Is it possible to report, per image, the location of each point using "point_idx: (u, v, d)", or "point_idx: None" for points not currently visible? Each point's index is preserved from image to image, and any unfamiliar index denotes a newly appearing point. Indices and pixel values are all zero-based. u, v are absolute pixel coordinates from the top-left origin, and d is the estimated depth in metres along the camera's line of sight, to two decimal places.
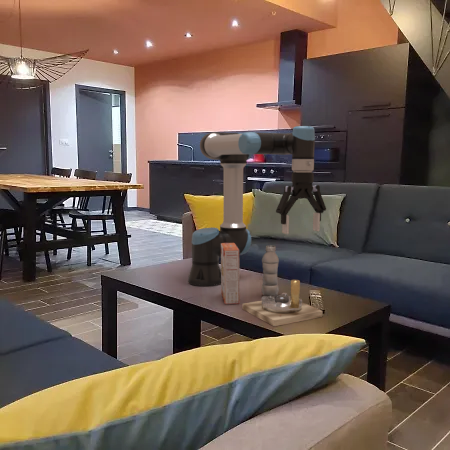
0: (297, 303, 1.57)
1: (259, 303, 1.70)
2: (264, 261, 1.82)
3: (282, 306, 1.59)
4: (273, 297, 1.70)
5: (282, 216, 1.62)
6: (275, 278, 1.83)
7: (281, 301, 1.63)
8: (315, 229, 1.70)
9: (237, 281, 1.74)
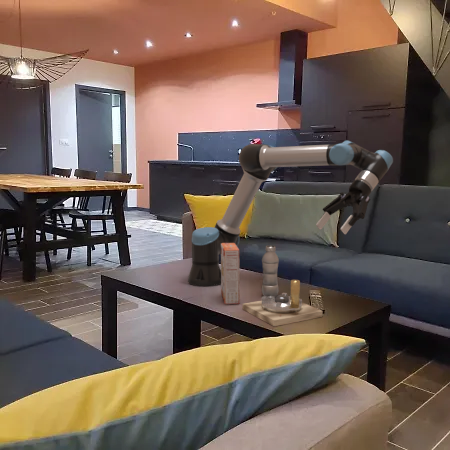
0: (297, 303, 1.57)
1: (259, 303, 1.70)
2: (264, 261, 1.82)
3: (282, 306, 1.59)
4: (273, 297, 1.70)
5: (356, 219, 1.63)
6: (275, 278, 1.83)
7: (281, 301, 1.63)
8: (319, 226, 1.75)
9: (237, 281, 1.74)
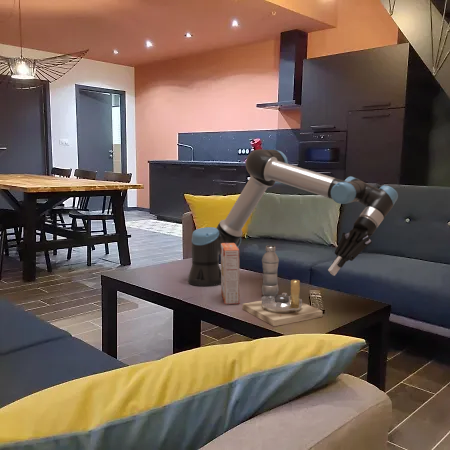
0: (297, 303, 1.57)
1: (259, 303, 1.70)
2: (264, 261, 1.82)
3: (282, 306, 1.59)
4: (273, 297, 1.70)
5: (345, 261, 1.65)
6: (275, 278, 1.83)
7: (281, 301, 1.63)
8: None
9: (237, 281, 1.74)
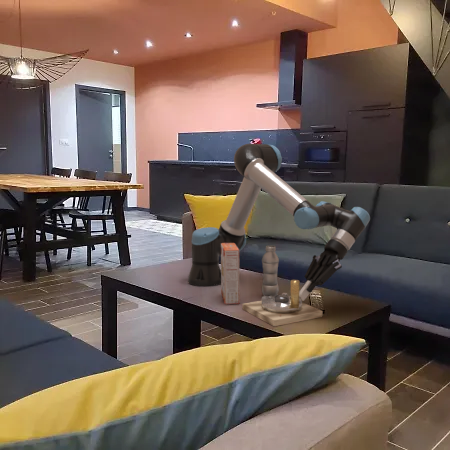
0: (297, 303, 1.57)
1: (259, 303, 1.70)
2: (264, 261, 1.82)
3: (282, 306, 1.59)
4: (273, 297, 1.70)
5: (314, 285, 1.60)
6: (275, 278, 1.83)
7: (281, 301, 1.63)
8: None
9: (237, 281, 1.74)
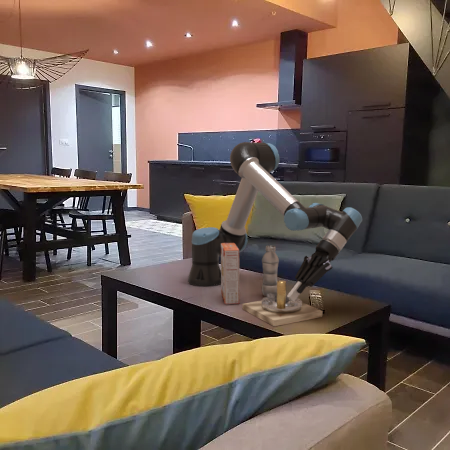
0: (280, 304, 1.56)
1: (259, 303, 1.70)
2: (264, 261, 1.82)
3: (271, 305, 1.61)
4: None
5: (304, 286, 1.58)
6: (275, 278, 1.83)
7: (277, 300, 1.64)
8: None
9: (237, 281, 1.74)
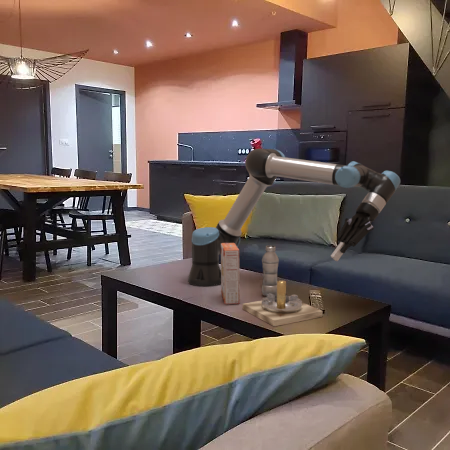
0: (280, 304, 1.56)
1: (259, 303, 1.70)
2: (264, 261, 1.82)
3: (271, 305, 1.61)
4: None
5: (347, 246, 1.67)
6: (275, 278, 1.83)
7: (277, 300, 1.64)
8: None
9: (237, 281, 1.74)
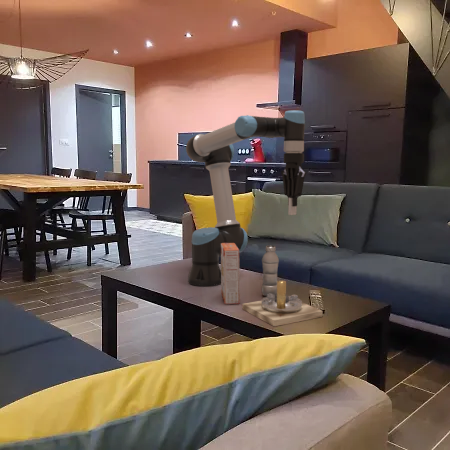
0: (280, 304, 1.56)
1: (259, 303, 1.70)
2: (264, 261, 1.82)
3: (271, 305, 1.61)
4: None
5: (296, 199, 1.79)
6: (275, 278, 1.83)
7: (277, 300, 1.64)
8: None
9: (237, 281, 1.74)
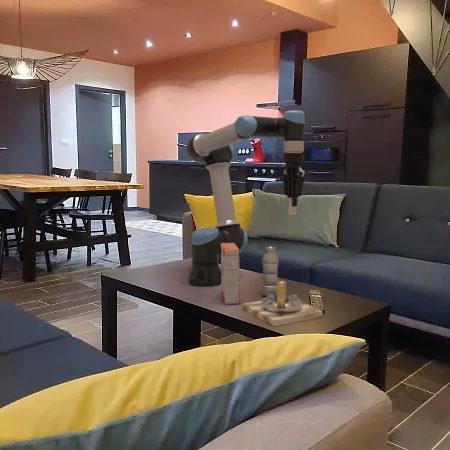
0: (280, 304, 1.56)
1: (259, 303, 1.70)
2: (264, 261, 1.82)
3: (271, 305, 1.61)
4: None
5: (296, 199, 1.79)
6: (275, 278, 1.83)
7: (277, 300, 1.64)
8: None
9: (237, 281, 1.74)
